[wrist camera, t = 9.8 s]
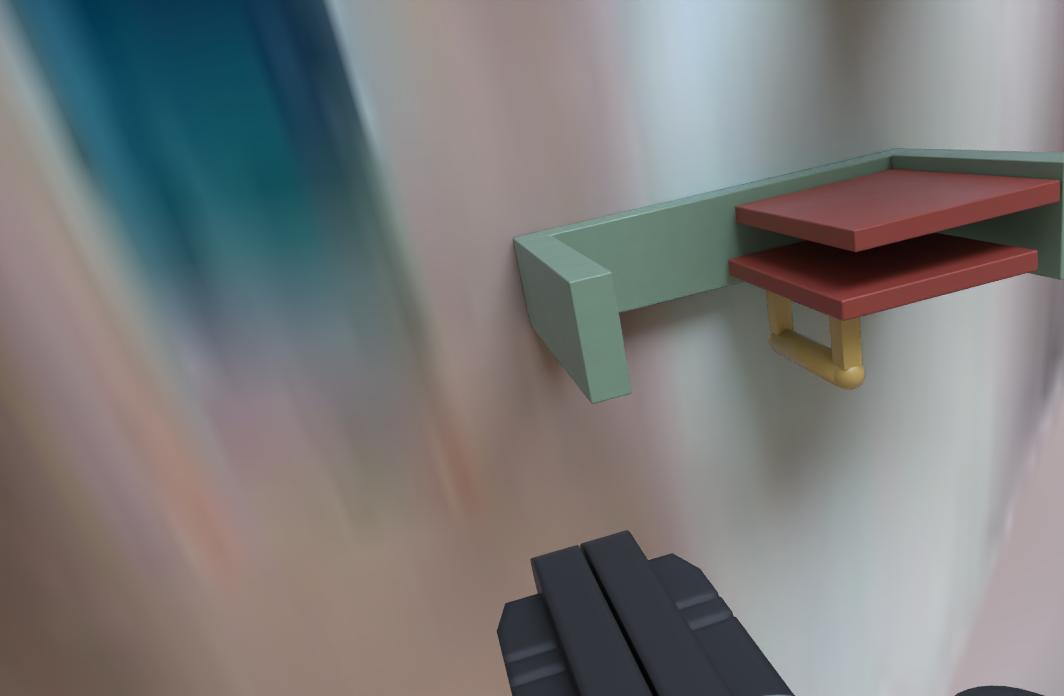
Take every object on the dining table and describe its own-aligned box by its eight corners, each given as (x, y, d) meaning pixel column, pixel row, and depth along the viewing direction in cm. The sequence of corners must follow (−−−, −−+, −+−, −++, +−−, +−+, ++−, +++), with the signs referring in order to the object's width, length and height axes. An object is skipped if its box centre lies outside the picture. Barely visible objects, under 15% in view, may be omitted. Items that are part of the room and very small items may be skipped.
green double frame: (901, 234, 38) (1095, 271, 28) (530, 326, 36) (591, 404, 25) (898, 148, 37) (1100, 153, 27) (512, 237, 34) (568, 282, 24)
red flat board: (883, 303, 37) (1037, 355, 28) (736, 342, 36) (848, 408, 27) (879, 221, 36) (1038, 249, 27) (726, 259, 35) (841, 300, 26)
